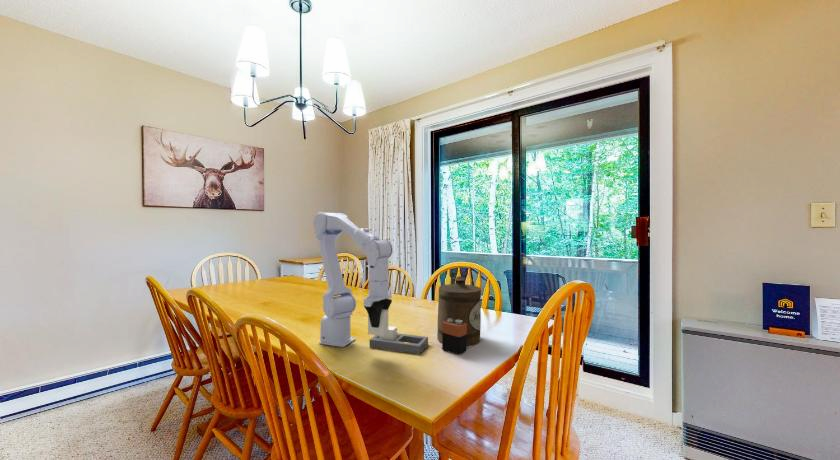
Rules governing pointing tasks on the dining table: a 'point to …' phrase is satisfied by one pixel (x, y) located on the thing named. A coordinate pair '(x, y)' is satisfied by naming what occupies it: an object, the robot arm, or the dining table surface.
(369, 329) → the plug
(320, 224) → the robot arm
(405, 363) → the dining table surface
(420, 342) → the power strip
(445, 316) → the wooden container
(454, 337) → the battery
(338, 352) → the dining table surface
